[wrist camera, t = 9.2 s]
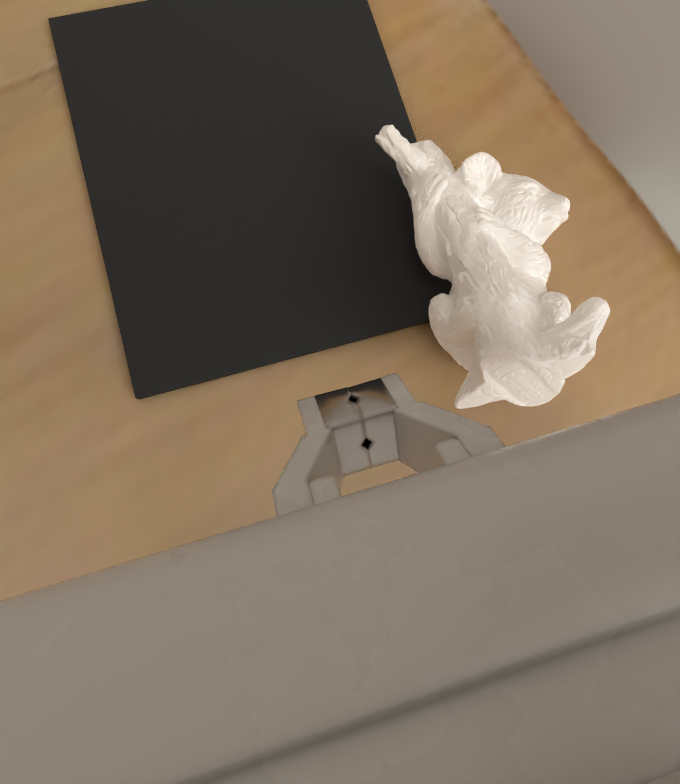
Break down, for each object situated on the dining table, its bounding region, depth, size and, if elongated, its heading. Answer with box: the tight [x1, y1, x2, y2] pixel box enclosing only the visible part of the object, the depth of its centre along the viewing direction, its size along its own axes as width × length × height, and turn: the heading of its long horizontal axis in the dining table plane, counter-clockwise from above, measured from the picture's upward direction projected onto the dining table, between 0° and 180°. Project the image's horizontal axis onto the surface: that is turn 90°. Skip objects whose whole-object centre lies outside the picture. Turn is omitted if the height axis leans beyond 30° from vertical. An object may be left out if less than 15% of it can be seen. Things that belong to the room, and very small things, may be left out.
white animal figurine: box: [375, 125, 610, 409], centre depth 21 cm, size 8×7×12 cm
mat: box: [49, 0, 452, 399], centre depth 25 cm, size 20×16×1 cm
